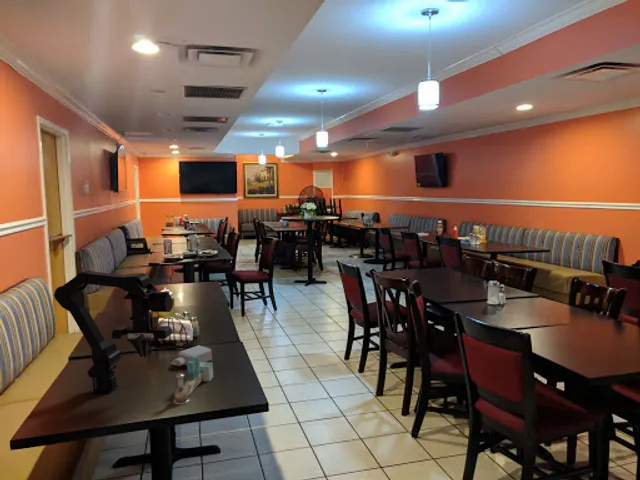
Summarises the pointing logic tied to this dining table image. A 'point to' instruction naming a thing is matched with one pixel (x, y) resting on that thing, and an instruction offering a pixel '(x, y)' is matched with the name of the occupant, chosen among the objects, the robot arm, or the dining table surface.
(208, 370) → the block
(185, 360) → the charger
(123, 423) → the dining table surface
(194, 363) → the link
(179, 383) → the pintle
